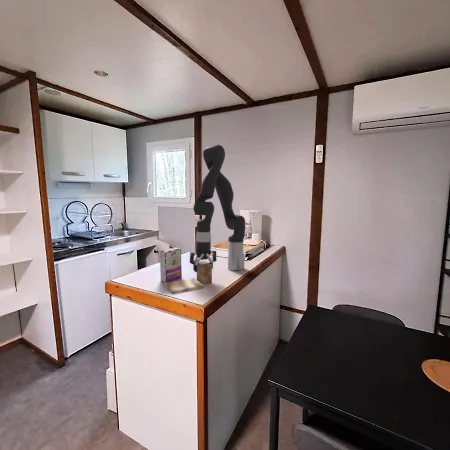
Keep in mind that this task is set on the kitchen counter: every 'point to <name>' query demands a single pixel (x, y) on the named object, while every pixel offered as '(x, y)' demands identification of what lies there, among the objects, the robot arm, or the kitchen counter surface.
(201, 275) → the walnut block
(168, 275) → the candy bar box
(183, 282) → the birch board
